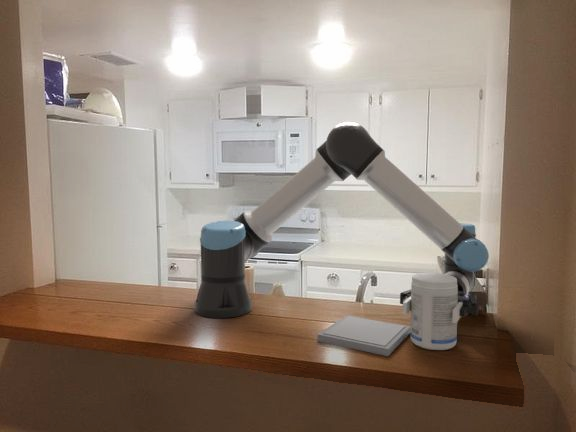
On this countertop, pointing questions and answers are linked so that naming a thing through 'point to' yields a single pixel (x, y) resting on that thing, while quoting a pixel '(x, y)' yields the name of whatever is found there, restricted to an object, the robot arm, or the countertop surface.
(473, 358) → the countertop surface
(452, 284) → the supplement tub
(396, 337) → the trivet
